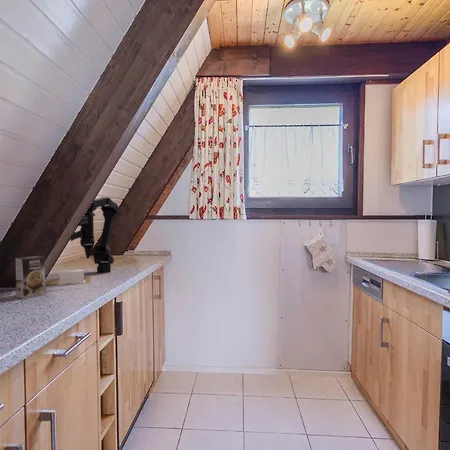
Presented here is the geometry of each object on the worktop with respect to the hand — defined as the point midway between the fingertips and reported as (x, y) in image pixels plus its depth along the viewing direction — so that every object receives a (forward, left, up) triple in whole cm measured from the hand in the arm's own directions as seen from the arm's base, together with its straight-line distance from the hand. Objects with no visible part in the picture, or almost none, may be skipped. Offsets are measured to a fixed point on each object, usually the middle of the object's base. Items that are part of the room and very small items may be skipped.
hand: (87, 257), depth 174 cm
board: (+9, +4, -12) cm, 16 cm away
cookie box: (+22, +22, -12) cm, 33 cm away
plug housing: (+7, +8, -10) cm, 15 cm away
